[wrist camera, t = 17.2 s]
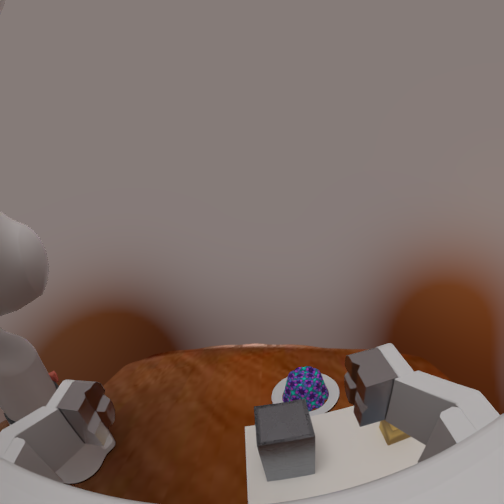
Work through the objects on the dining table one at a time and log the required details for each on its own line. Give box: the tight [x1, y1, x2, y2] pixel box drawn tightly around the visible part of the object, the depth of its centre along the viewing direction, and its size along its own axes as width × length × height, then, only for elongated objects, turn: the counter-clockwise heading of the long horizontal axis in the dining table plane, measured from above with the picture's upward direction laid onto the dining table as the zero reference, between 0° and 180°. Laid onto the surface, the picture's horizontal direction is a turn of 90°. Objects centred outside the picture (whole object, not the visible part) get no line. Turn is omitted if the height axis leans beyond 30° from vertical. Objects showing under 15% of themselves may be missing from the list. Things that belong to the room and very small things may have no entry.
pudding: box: [272, 366, 339, 416], centre depth 45 cm, size 12×12×5 cm
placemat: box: [245, 406, 426, 504], centre depth 32 cm, size 28×16×1 cm, turn 92°
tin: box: [254, 398, 315, 482], centre depth 30 cm, size 6×6×10 cm
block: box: [379, 419, 411, 445], centre depth 31 cm, size 4×4×4 cm
